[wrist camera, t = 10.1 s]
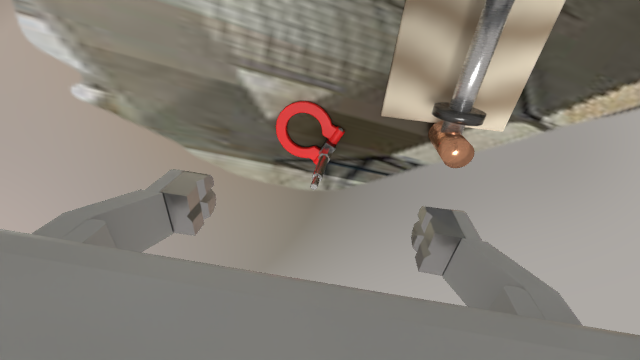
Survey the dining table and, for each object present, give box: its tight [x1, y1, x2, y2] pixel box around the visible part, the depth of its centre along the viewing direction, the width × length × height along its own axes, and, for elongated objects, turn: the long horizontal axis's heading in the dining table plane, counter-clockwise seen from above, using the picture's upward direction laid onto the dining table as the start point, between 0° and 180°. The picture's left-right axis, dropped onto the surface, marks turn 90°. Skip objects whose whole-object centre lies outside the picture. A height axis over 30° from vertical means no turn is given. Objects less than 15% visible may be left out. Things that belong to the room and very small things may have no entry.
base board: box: [381, 0, 565, 132], centre depth 30 cm, size 24×16×1 cm, turn 175°
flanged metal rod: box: [428, 0, 515, 168], centre depth 28 cm, size 19×6×7 cm, turn 175°
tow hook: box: [276, 101, 345, 190], centre depth 34 cm, size 8×13×9 cm
